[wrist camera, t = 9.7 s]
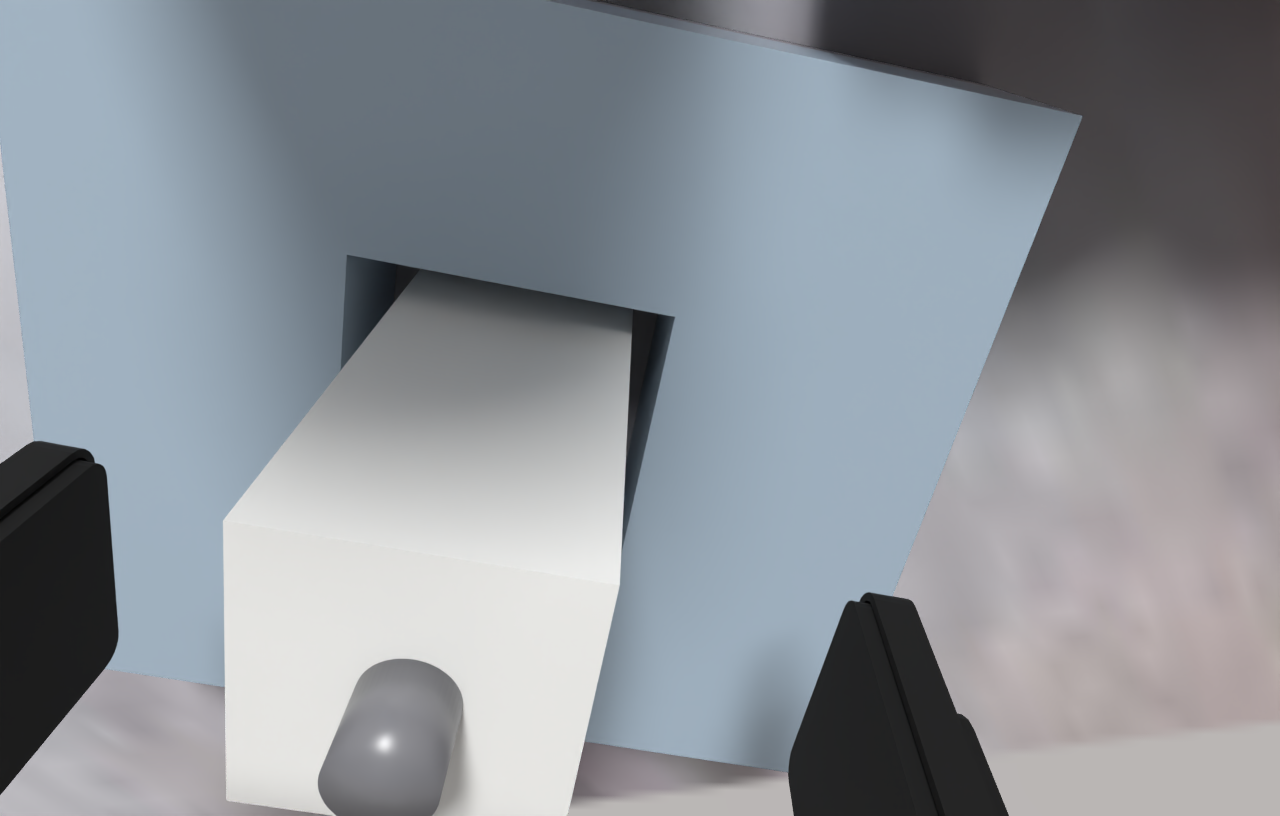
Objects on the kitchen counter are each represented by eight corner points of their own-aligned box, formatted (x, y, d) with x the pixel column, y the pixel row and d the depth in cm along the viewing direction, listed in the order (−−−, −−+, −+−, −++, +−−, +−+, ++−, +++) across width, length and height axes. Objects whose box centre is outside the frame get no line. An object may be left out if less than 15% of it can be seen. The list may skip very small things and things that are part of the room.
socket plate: (981, 83, 17) (1082, 115, 13) (790, 638, 23) (820, 777, 19) (141, -98, 16) (-30, -124, 12) (167, 536, 22) (59, 661, 18)
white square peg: (634, 283, 18) (615, 667, 8) (600, 452, 20) (550, 944, 10) (438, 246, 18) (162, 596, 8) (420, 421, 20) (177, 895, 9)
